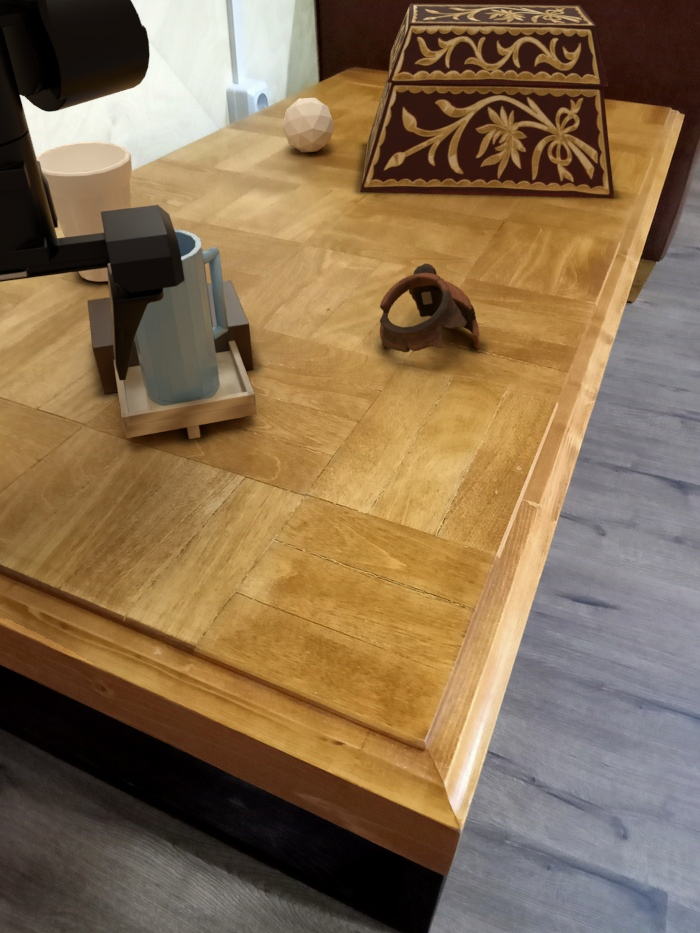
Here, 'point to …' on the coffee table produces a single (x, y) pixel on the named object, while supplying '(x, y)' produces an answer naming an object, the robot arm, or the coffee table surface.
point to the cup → (87, 187)
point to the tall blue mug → (184, 330)
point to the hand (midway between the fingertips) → (48, 389)
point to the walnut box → (153, 418)
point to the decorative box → (492, 104)
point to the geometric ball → (308, 125)
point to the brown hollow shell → (427, 311)
